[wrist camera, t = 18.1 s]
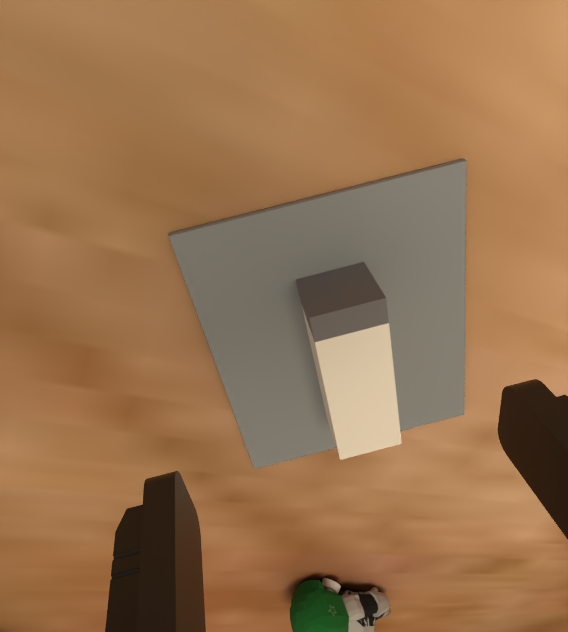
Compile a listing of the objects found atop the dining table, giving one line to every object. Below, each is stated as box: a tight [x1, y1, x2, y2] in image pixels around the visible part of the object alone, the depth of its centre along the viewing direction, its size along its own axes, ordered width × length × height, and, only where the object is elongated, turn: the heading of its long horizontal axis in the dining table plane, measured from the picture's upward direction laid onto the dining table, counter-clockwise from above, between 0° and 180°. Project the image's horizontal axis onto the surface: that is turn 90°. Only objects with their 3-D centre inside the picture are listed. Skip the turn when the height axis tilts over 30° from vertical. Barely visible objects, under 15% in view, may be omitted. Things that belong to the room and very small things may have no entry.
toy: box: [290, 578, 391, 632], centre depth 59 cm, size 9×7×15 cm
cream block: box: [296, 262, 402, 460], centre depth 37 cm, size 5×5×14 cm
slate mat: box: [169, 159, 467, 469], centre depth 39 cm, size 20×24×1 cm
